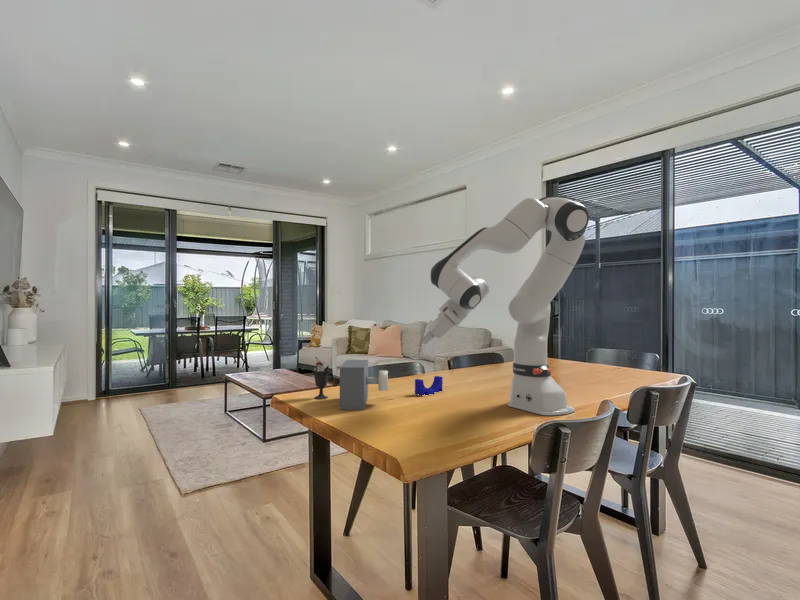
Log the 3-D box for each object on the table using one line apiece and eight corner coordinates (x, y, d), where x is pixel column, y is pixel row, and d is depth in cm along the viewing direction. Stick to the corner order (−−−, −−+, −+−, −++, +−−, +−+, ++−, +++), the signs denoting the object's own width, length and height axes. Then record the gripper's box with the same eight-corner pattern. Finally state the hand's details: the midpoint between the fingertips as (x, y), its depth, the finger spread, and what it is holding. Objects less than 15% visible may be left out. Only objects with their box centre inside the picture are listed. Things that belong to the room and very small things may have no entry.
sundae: (309, 396, 160) (309, 356, 160) (327, 395, 163) (327, 355, 163) (314, 400, 154) (314, 358, 154) (332, 398, 157) (332, 357, 157)
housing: (368, 397, 159) (368, 359, 159) (363, 410, 141) (364, 367, 141) (346, 397, 159) (346, 359, 159) (339, 409, 141) (339, 367, 141)
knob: (387, 388, 154) (387, 369, 154) (387, 392, 147) (387, 372, 147) (362, 388, 154) (362, 368, 154) (361, 392, 147) (361, 372, 147)
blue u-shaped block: (423, 397, 161) (423, 381, 162) (414, 394, 165) (414, 379, 165) (445, 392, 169) (445, 377, 169) (436, 390, 173) (437, 375, 173)
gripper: (441, 307, 161) (415, 333, 161) (447, 308, 140) (417, 338, 140) (453, 319, 161) (427, 345, 161) (461, 322, 140) (431, 352, 140)
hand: (422, 342), depth 150 cm, fingers closed
